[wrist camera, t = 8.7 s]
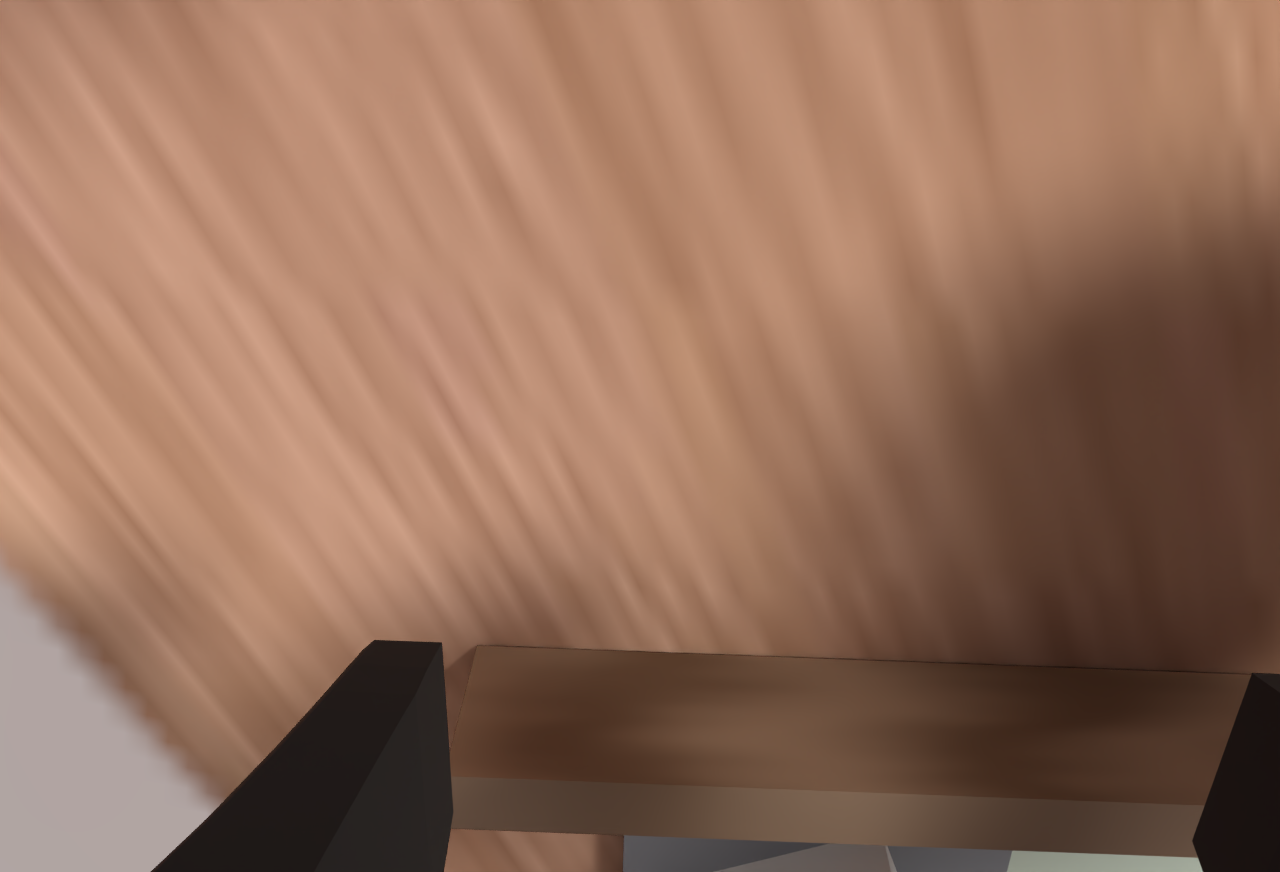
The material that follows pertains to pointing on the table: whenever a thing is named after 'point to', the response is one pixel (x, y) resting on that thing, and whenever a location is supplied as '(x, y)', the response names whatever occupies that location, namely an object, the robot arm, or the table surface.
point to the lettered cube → (826, 860)
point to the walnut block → (839, 750)
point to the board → (689, 864)
